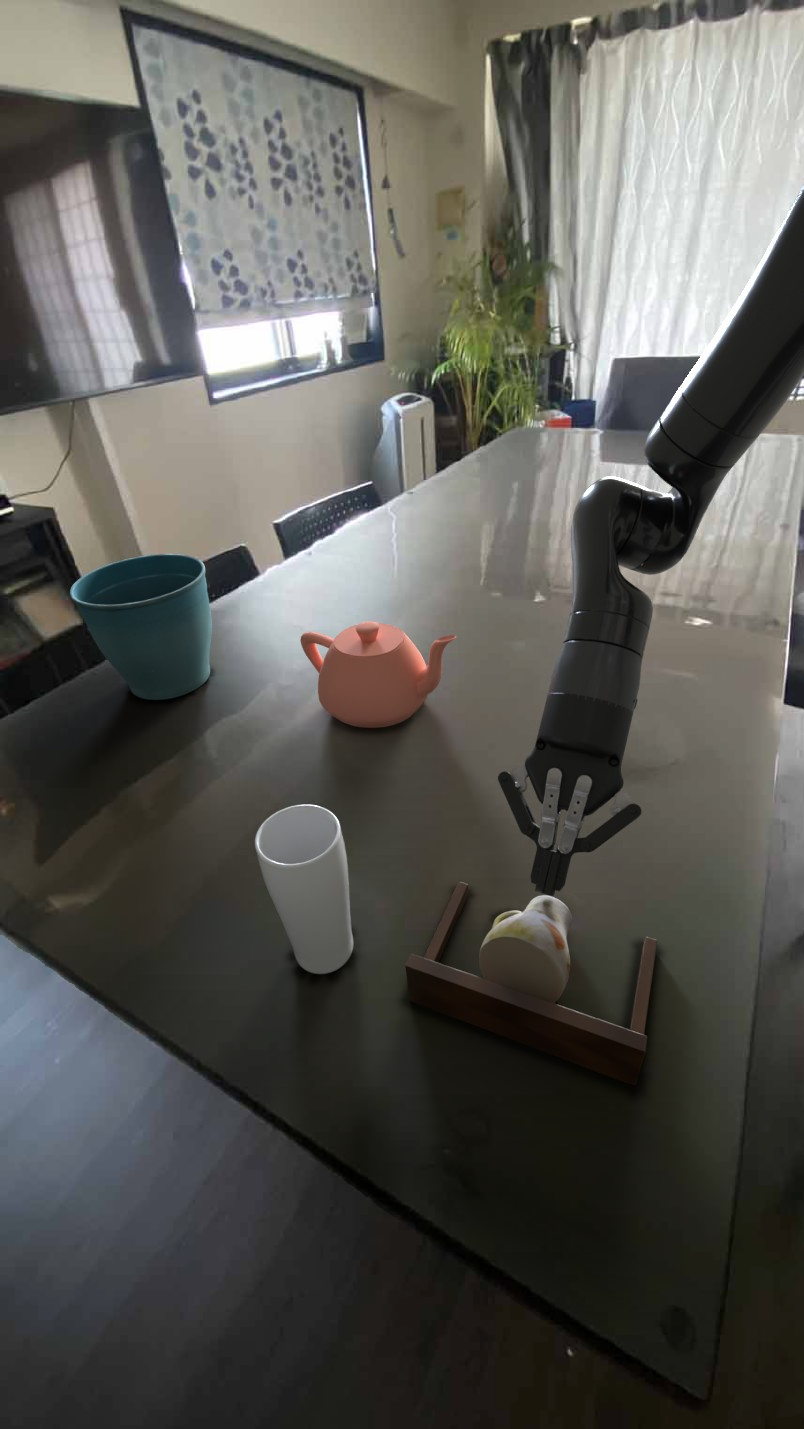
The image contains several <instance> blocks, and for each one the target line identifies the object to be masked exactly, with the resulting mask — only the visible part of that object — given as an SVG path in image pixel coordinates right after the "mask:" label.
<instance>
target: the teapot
mask: <svg viewBox="0 0 804 1429" xmlns="http://www.w3.org/2000/svg"><path fill="white" fill-rule="evenodd" d="M456 638H457V635H454V634H451V635H444V636H441V637H439V638H437V639H435V640H434V641H433V642H432V644H431V646H430V648H429V655H428V663H427V664H426V661H425V659H424V658H423V656H422V654H421V652H420V651H419V648H417V647H416V645H415V644H414V643H413V641H412V640H411V638H410V637H409V636H408V635H407V634H406V633H405V632H404V631H403V630H402V629H401V628H398V627H397V626H394V625H391V624H387V623H381V622H379V623H378V622H376V621H370V620H369V621H368V620H367V621H362V622H360V623H358V624H355V625H351V626H349V627H346V628H345V629H343V630H341V631H340V632H339V633H338V634H337V635H336V636H335V638H332V637H330V636H328V635H325V634H322V633H319V632H316V631H306V632H304V633H302V635H301V636H300V641H299V642H300V645H301V648H302V651H303V652H304V654H305V656H306V657H307V659H308V660H309V662H310V664H312V666H313V667H314V669H315V670H316V671H317V673H318V680H317V694H318V695H317V696H318V700H319V703H320V704H321V707H322V708H323V709H324V710H325V712H327V713H328V714H329V715H330V716H332V717H334V718H335V719H336V720H338V721H340V722H342V723H344V724H347V725H349V726H352V727H357V728H365V729H366V728H367V729H376V728H377V729H378V728H386V727H390V726H394V725H398V724H400V723H402V722H404V721H406V720H407V719H409V718H410V717H411V716H413V715H414V714H415V713H416V712H417V711H418V710H419V709H420V708H421V706H422V705H423V704H424V702H425V701H426V700H427V698H428V695H430V694H431V693H433V692H434V691H435V689H437V687H438V686H439V684H440V681H441V679H442V675H443V654H444V650H445V649H446V647H447V645H449V644H450V643H451V642H453V641H454V640H455V639H456ZM317 645H319V646H322V647H325V648H326V649H328V650H327V652H326V654H325V656H324V658H323V657H322V656H321V654H320V652H319V649H318V646H317Z"/></svg>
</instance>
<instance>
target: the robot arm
mask: <svg viewBox="0 0 804 1429" xmlns="http://www.w3.org/2000/svg"><path fill="white" fill-rule="evenodd" d="M803 376H804V184H803V185H802V187H801V188H800V191H799V192H798V194H797V196H796V198H795V200H794V202H793V203H792V205H791V207H790V209H789V210H788V212H787V213H786V216H785V218H784V220H783V221H782V223H781V225H780V227H779V229H778V230H777V232H776V234H775V236H774V238H773V239H772V241H771V243H770V245H769V246H768V248H767V250H766V252H765V254H764V255H763V257H762V259H761V261H760V263H759V264H758V265H757V267H756V269H755V271H754V273H753V275H752V276H751V277H750V279H749V281H748V283H747V284H746V286H745V288H744V290H743V291H742V293H741V295H740V296H739V297H738V299H737V301H736V303H735V304H734V306H733V307H732V309H731V311H730V312H729V313H728V315H727V317H726V318H725V320H724V321H723V322H722V325H721V326H720V327H719V329H718V331H717V332H716V334H715V335H714V337H713V339H712V340H711V342H710V343H709V344H708V346H707V347H706V349H705V350H704V352H703V354H702V355H701V356H700V358H699V359H698V361H697V362H696V364H695V365H694V366H693V368H692V369H691V371H689V374H688V375H687V377H685V379H684V381H683V383H682V384H681V385H680V387H678V390H677V391H676V393H675V394H674V395H673V397H672V398H671V400H670V402H669V403H668V405H667V406H666V408H665V409H664V411H663V412H662V413H661V415H660V417H659V418H658V419H657V421H655V424H654V425H653V426H652V428H651V430H650V432H648V435H647V437H646V439H645V441H644V444H643V457H644V460H645V462H646V465H647V466H648V468H650V470H651V471H652V472H653V473H654V474H655V475H656V476H657V477H658V478H659V479H661V480H662V481H663V482H664V483H665V484H667V485H669V487H671V489H670V490H669V491H668V492H667V493H666V494H665V493H662V492H660V491H656V490H654V489H651V488H648V487H645V486H642V485H640V484H637V483H635V482H632V481H629V480H626V479H623V478H621V477H616V476H605V477H602V478H599V479H597V480H595V481H594V482H592V483H591V484H590V485H589V486H588V487H587V488H586V489H585V490H584V492H582V494H581V495H580V497H579V499H578V500H577V503H576V505H575V508H574V510H573V514H572V518H571V525H570V550H571V551H570V552H571V564H572V565H571V566H572V601H571V608H570V612H569V617H568V619H567V624H566V629H565V633H564V637H563V641H562V645H561V648H560V651H559V654H558V656H557V659H556V661H555V664H554V667H553V670H552V674H551V679H550V683H549V687H548V691H547V695H546V698H545V699H546V700H545V703H544V708H543V712H542V715H541V720H540V724H539V729H538V732H537V736H536V740H535V745H534V747H533V749H532V750H531V752H530V753H529V754H528V755H527V757H526V758H525V760H524V765H522V766H519V767H518V768H515V769H512V770H510V771H501V772H500V773H499V774H498V776H497V782H498V783H499V786H500V788H501V790H502V792H503V795H504V797H505V799H506V801H507V804H508V806H509V808H510V811H511V813H512V815H513V817H514V819H515V822H516V824H517V826H518V828H519V831H520V833H521V834H523V835H524V836H526V837H528V838H529V839H530V840H532V841H533V842H534V843H535V845H536V851H535V855H534V860H533V865H532V868H531V872H530V882H531V884H534V885H535V888H534V889H535V890H534V891H535V892H537V893H540V894H543V895H547V896H551V897H554V895H555V893H556V892H560V891H562V889H563V888H564V887H565V885H566V881H567V877H568V872H569V869H570V864H571V860H572V857H573V855H574V854H577V853H592V852H593V851H595V850H597V849H598V848H600V847H601V846H602V845H603V844H605V843H606V842H607V841H608V840H610V839H612V838H614V836H616V835H618V833H619V832H621V831H622V830H623V829H625V828H627V827H628V826H629V825H630V824H631V823H633V822H635V821H636V820H637V819H638V818H640V816H641V815H642V812H643V811H642V807H641V806H640V805H639V804H637V803H635V801H634V800H633V799H632V798H631V797H630V796H629V795H628V793H627V792H626V791H625V790H624V789H623V787H624V782H625V781H624V778H623V774H622V764H623V760H624V755H625V750H626V746H627V742H628V738H629V733H630V729H631V724H632V720H633V716H634V712H635V709H636V707H637V704H638V694H639V690H640V684H641V677H642V676H641V673H642V664H643V659H644V654H645V650H646V647H647V646H646V645H647V641H648V637H649V632H650V628H651V624H652V620H653V613H654V605H653V601H652V599H651V598H650V597H649V595H648V594H647V593H646V592H645V591H643V590H642V589H640V588H639V587H637V586H636V585H634V584H633V583H632V582H631V581H629V580H628V579H627V578H626V577H625V576H624V575H623V573H622V571H621V570H620V567H621V568H624V569H628V570H630V571H633V572H636V573H639V574H642V575H647V576H648V575H649V576H655V575H659V574H662V573H664V572H666V571H668V570H670V569H672V568H673V567H674V566H676V565H677V564H678V563H679V562H680V561H682V560H683V558H684V557H685V555H686V554H687V552H688V551H689V549H690V547H691V545H692V543H693V541H694V539H695V537H696V534H697V532H698V530H699V527H700V525H701V523H702V521H703V518H704V516H705V514H706V513H707V510H708V509H709V506H710V505H711V503H712V501H713V499H714V498H715V495H716V494H717V492H718V489H719V488H720V486H721V484H722V483H723V481H724V479H725V478H726V476H727V475H728V474H729V472H730V471H731V470H732V469H733V468H734V467H735V465H736V464H737V463H738V461H739V460H740V459H741V458H742V457H743V456H744V455H745V453H746V452H747V451H748V450H749V448H750V447H751V446H752V445H753V444H754V443H755V441H756V440H757V439H758V437H760V435H761V434H762V433H764V430H766V429H767V427H768V426H769V425H770V423H771V422H772V421H773V419H774V418H775V417H776V416H777V415H778V413H779V412H780V411H781V409H782V408H783V407H784V405H785V404H786V402H787V401H788V399H789V398H790V397H791V396H792V394H793V392H794V391H795V389H796V388H797V386H798V384H799V383H800V381H801V380H802V378H803ZM528 778H529V780H530V783H531V785H532V788H533V790H534V792H535V795H536V797H537V800H538V801H539V803H540V804H541V805H542V808H541V809H542V810H541V815H540V825H538V824H537V822H536V820H535V818H534V816H533V813H532V811H531V809H530V806H529V804H528V803H527V800H526V798H525V795H524V793H525V792H526V791H527V789H528V782H527V779H528ZM613 798H614V803H613V804H612V805H611V806H610V809H609V810H610V814H611V815H612V817H610V818H609V819H608V820H606V821H605V822H604V823H603V824H601V825H600V826H599V827H597V828H596V829H595V830H593V831H592V832H590V833H589V834H588V835H587V836H585V837H579V835H580V832H581V829H582V827H583V824H584V821H585V818H586V817H589V816H591V815H593V814H594V813H596V812H597V811H598V810H599V809H600V808H602V807H603V806H604V805H605V804H607V803H608V802H609V801H611V799H613ZM562 811H566V812H567V813H566V816H565V819H564V822H563V827H562V830H561V833H560V835H559V839H558V843H557V845H556V842H557V836H558V829H559V825H560V824H559V823H560V821H561V814H562ZM555 845H556V850H554V848H555Z"/></svg>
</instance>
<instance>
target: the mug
mask: <svg viewBox="0 0 804 1429" xmlns="http://www.w3.org/2000/svg"><path fill="white" fill-rule="evenodd" d="M572 916H573V915H572V914H571V911H570V909H569V907H568V906H567V905H566V904H565V903H564V902H563V901H561V900H560V899H558V898H557V897H556V898H555V897H554V896H549V895H546V894H543V895H538V896H535V897H534V898H532V899H531V900H530V901H529V903H528V904H527V905H526V907H525V909H524V910H523V911H520V910H509V911H505V912H503V913H501V914H499V915H498V916H497V917H495V918H494V920H493V923H492V926H491V929H490V931H488V932H487V934H486V936H485V937H484V939H483V941H482V944H481V946H480V948H479V954H478V966H479V972H480V974H481V976H482V978H483V979H486V980H488V981H491V982H494V983H497V984H500V985H503V986H505V987H508V988H511V989H514V990H517V991H520V992H523V993H525V994H528V995H531V996H534V997H537V998H540V999H543V1000H545V1001H548V1002H551V1003H554V1004H556V1003H557V1002H558V1001H559V999H560V998H561V996H562V994H563V993H564V991H565V990H566V987H567V985H568V982H569V979H570V974H571V956H570V949H569V946H568V937H567V936H568V934H569V931H570V929H571V927H572V922H573V917H572Z"/></svg>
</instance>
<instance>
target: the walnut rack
mask: <svg viewBox="0 0 804 1429" xmlns="http://www.w3.org/2000/svg"><path fill="white" fill-rule="evenodd" d="M468 896H469V884H468V883H465V882H462V881H457V884H456V886H455V888H454V890H453V893H452V895H451V897H450V899H449V901H448V903H447V905H446V908H445V910H444V912H443V914H442V917H441V918H440V921H439V923H438V925H437V926H436V927H437V928H436V929H435V932H434V933H433V936H432V938H431V941H430V942H429V945H428V947H427V949H426V951H425V953H424V955H423V957H422V956H420V955H417V954H414V953H410V955H409V957H408V959H407V961H406V963H405V965H404V966H405V975H406V983H407V992H408V1000H409V1001H410V1002H412V1003H415V1004H417V1005H420V1006H422V1007H425V1008H427V1009H430V1010H433V1011H436V1012H438V1013H441V1014H444V1015H446V1016H448V1017H451V1018H455V1019H457V1020H460V1021H462V1022H464V1023H467V1024H469V1025H473V1026H475V1027H477V1028H480V1029H483V1030H485V1031H488V1032H491V1033H493V1034H496V1035H498V1036H502V1037H504V1038H506V1039H509V1040H511V1041H514V1042H517V1043H519V1044H522V1045H525V1046H527V1047H530V1048H533V1049H536V1050H538V1051H540V1052H543V1053H545V1054H549V1055H551V1056H554V1057H557V1058H559V1059H562V1060H564V1061H566V1062H567V1061H568V1062H570V1063H572V1064H575V1065H578V1066H580V1067H583V1068H586V1069H588V1070H591V1071H593V1072H596V1073H598V1074H601V1075H603V1076H607V1077H608V1078H611V1079H614V1080H617V1081H620V1082H622V1083H625V1084H627V1085H630V1086H632V1087H636V1086H637V1082H638V1079H639V1075H640V1072H641V1068H642V1065H643V1061H644V1058H645V1054H646V1051H647V1044H648V1042H647V1041H648V1036H647V1035H645V1030H646V1024H647V1016H648V1010H649V1003H650V996H651V989H652V982H653V975H654V969H655V961H656V954H657V946H658V939H656V938H651V937H648V936H645V937H644V939H643V944H642V950H641V956H640V961H639V968H638V974H637V981H636V987H635V993H634V999H633V1005H632V1010H631V1017H630V1022H629V1023H630V1024H629V1028H625V1027H623V1026H619V1025H617V1024H615V1023H611V1022H608V1021H606V1020H602V1019H600V1018H596V1017H594V1016H591V1015H588V1014H585V1013H584V1012H579V1011H576V1010H574V1009H571V1008H568V1007H565V1006H562V1005H559V1004H556V1003H551V1002H548V1001H545V1000H543V999H540V998H537V997H534V996H531V995H528V994H525V993H523V992H520V991H517V990H514V989H511V988H508V987H505V986H503V985H500V984H497V983H494V982H491V981H488V980H486V979H484V978H483V977H479V976H478V975H474V974H472V973H469V972H466V971H462V970H460V969H456V968H454V967H451V966H448V965H444V964H443V963H440V960H441V957H442V956H443V953H444V950H445V949H446V947H447V944H448V942H449V939H450V938H451V935H452V933H453V930H454V928H455V926H456V924H457V921H458V919H459V917H460V914H461V912H462V910H463V907H464V905H465V903H466V900H467V898H468Z"/></svg>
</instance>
